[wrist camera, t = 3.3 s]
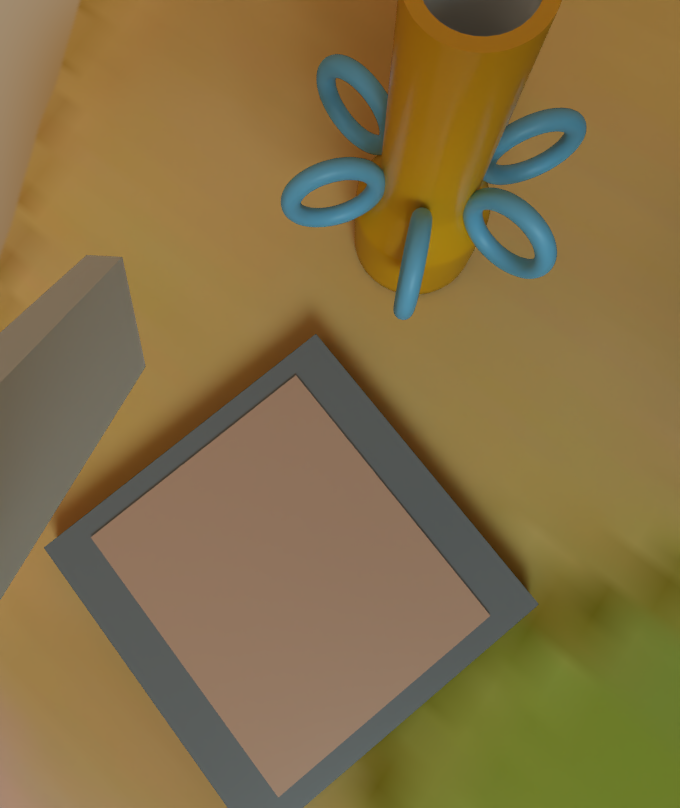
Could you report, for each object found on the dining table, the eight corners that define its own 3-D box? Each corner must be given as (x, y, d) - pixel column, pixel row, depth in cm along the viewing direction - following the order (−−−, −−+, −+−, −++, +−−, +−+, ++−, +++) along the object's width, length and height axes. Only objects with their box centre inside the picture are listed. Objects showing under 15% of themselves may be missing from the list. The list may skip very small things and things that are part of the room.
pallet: (317, 340, 28) (315, 333, 26) (529, 598, 26) (539, 604, 25) (57, 544, 27) (42, 547, 25) (260, 830, 25) (255, 849, 23)
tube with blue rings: (256, 235, 29) (154, -29, 14) (392, 99, 29) (436, -288, 15) (432, 395, 27) (532, 295, 12) (569, 247, 28) (816, -12, 13)
